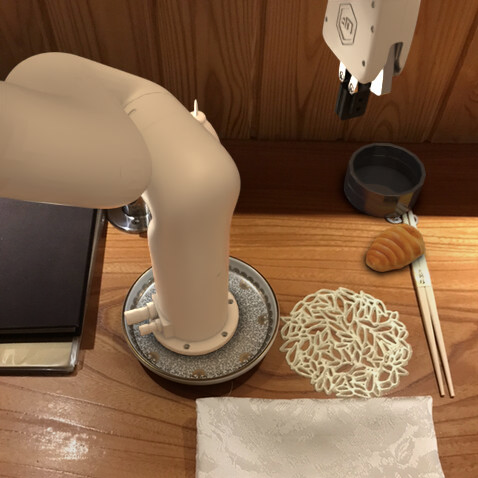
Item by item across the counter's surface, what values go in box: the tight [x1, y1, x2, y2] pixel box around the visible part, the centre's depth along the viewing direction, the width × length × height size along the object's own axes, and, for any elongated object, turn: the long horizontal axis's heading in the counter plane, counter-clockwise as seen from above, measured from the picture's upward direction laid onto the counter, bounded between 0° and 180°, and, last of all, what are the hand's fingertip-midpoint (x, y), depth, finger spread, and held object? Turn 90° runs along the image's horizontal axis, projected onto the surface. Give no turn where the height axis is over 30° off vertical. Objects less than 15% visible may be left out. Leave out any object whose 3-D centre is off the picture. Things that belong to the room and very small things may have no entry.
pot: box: [343, 142, 427, 219], centre depth 93 cm, size 12×12×5 cm
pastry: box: [365, 223, 427, 273], centre depth 86 cm, size 9×7×4 cm
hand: (349, 113), depth 66 cm, fingers closed
